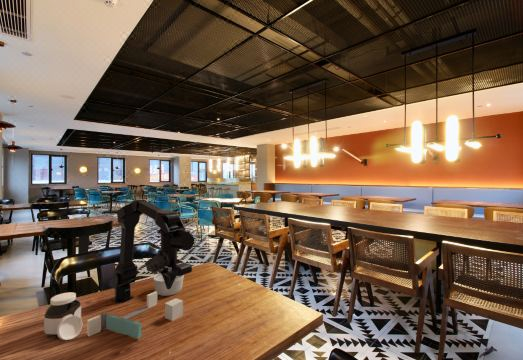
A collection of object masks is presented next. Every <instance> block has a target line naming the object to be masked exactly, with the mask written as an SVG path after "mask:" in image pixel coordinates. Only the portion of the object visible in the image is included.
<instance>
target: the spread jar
mask: <svg viewBox="0 0 523 360" xmlns="http://www.w3.org/2000/svg"><path fill="white" fill-rule="evenodd" d="M43 330H44V334H45V335H47V336H49V337H52V338H59V339H60V340H63V341H70V340H73V339H75V338H76V337H77V336H78V335H79V334H80V333H81V331H82V330H83V320H82V303H81V301H80V300H78V298H77V293H76V292H70V291H69V292H63V293H59V294H56V295H54V296H52V297H51V298H50V305H49V307H48V308H47V309H46V311H45V313H44V315H43Z"/></svg>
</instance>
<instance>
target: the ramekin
mask: <svg viewBox="0 0 523 360" xmlns="http://www.w3.org/2000/svg"><path fill="white" fill-rule="evenodd" d="M184 278H185V275H182V276H176V278H175V280H174V282H173V285H172V287H171V289H167V288H166V285H165V282H164V279H163V276H162V274H160V273H157V274H156V275H154V276H153V278H152V279H153V284H154V292H155V291H156V292H157V296H163V297H167V296H173V295H176V294H178V293H180V292H181V290H182V289H183V283H184Z"/></svg>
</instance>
